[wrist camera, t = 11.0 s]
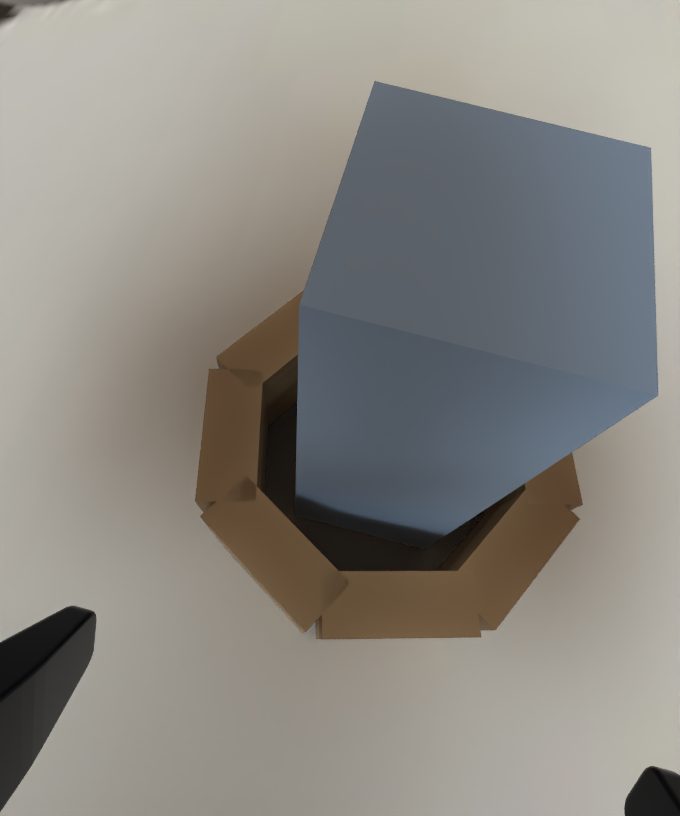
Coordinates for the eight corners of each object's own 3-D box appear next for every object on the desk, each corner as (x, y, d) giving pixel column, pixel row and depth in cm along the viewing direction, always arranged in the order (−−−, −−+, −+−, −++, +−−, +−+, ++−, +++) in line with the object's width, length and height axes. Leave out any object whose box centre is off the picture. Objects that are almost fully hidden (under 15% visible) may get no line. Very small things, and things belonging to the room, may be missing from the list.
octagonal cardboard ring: (580, 473, 19) (639, 439, 15) (384, 721, 15) (408, 744, 12) (366, 293, 21) (379, 232, 18) (152, 467, 17) (121, 429, 14)
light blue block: (424, 549, 17) (658, 395, 6) (294, 515, 17) (299, 304, 6) (444, 428, 19) (651, 147, 8) (327, 399, 19) (374, 81, 8)
